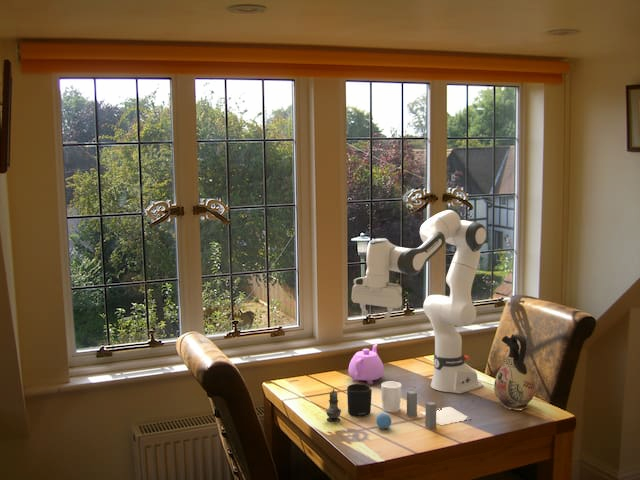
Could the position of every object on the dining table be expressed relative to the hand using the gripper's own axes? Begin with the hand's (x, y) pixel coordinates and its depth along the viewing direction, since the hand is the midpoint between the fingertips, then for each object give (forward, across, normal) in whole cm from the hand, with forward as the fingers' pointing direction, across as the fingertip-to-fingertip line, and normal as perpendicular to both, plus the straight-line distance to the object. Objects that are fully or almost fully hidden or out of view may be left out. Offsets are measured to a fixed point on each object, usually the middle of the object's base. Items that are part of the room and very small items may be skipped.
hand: (375, 316), depth 265 cm
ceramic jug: (+36, -46, -32) cm, 67 cm away
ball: (+35, -11, +13) cm, 39 cm away
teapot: (+37, +20, -33) cm, 53 cm away
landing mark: (+36, -26, -10) cm, 46 cm away
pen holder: (+38, +4, +4) cm, 38 cm away
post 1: (+37, -15, -4) cm, 40 cm away
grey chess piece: (+38, +8, +16) cm, 42 cm away
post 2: (+37, -25, +3) cm, 45 cm away
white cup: (+37, -5, -5) cm, 38 cm away
